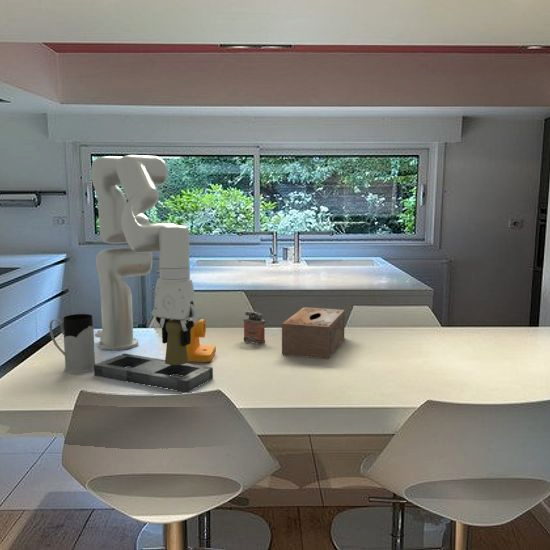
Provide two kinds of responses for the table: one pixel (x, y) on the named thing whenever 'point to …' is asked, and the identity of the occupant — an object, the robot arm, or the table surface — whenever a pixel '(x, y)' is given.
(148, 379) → the tray
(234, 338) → the table surface
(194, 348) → the bracket
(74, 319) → the grey mug
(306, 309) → the tissue box cover
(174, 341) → the olive tall tapered piece
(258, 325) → the lighter
